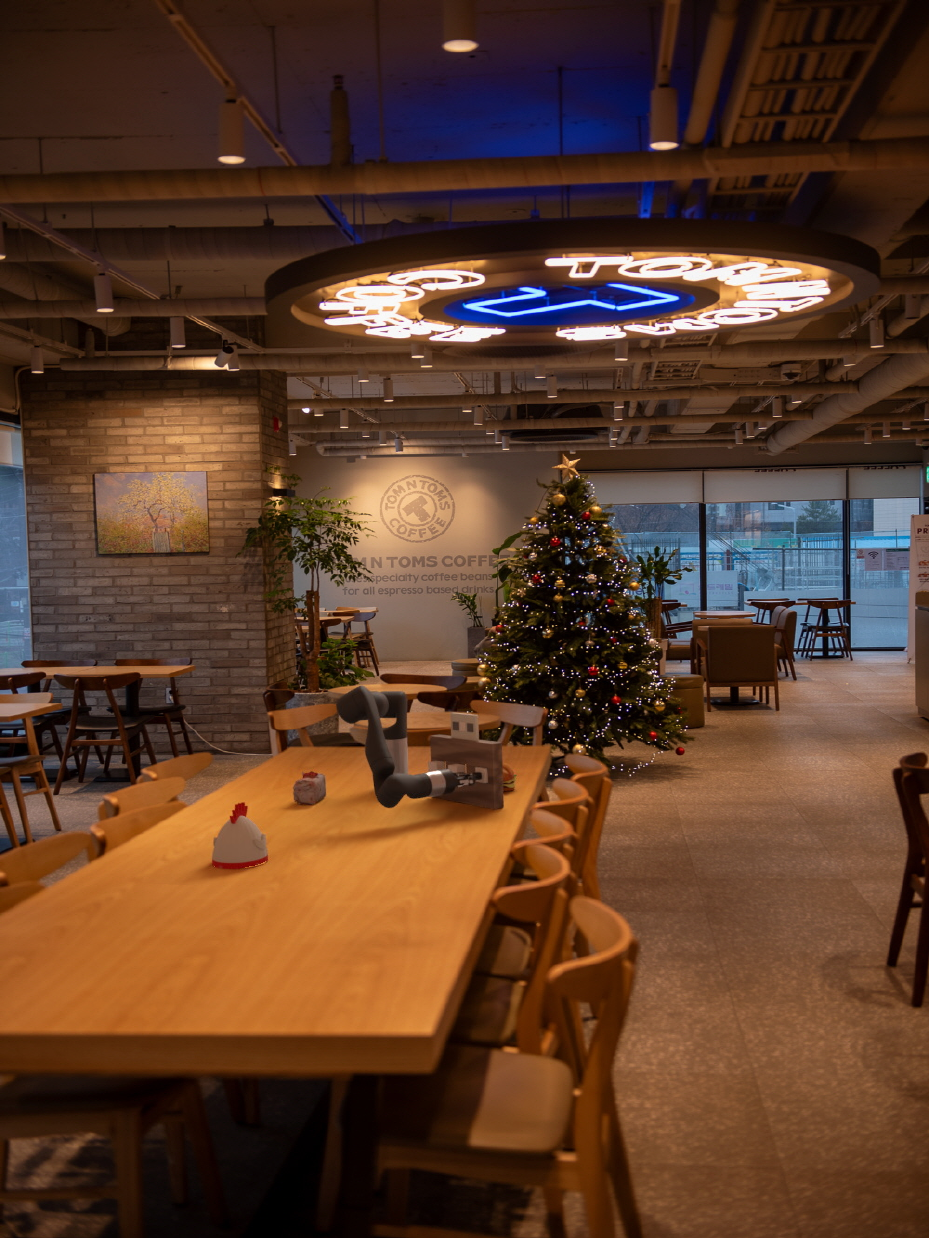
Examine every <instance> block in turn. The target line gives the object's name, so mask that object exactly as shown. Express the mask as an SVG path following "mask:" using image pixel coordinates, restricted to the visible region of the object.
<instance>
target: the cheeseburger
mask: <svg viewBox="0 0 929 1238" xmlns="http://www.w3.org/2000/svg"><path fill="white" fill-rule="evenodd" d="M516 777H517V774H515V773H514V770H513V768H512V767H511V765H510V764H508V763H506V762H503V792H510V791H513V790H514V789H515V787H516V781H517V778H516Z"/></svg>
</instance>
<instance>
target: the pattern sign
mask: <svg viewBox="0 0 929 1238" xmlns="http://www.w3.org/2000/svg"><path fill="white" fill-rule="evenodd" d="M479 723H480V721H479V714H471V713H463V712H462V713H460V712H450V736H451V738H457V739H465V740H473V741H479V740H480V733H479V732H480V728H479V727H480V726H479Z"/></svg>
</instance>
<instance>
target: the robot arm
mask: <svg viewBox="0 0 929 1238" xmlns="http://www.w3.org/2000/svg"><path fill="white" fill-rule="evenodd" d="M335 707H336V712H337V714H338V716H339V717H340V719H341V720H343V721H344V722H345V723H347V724H349V725H355V724H356V723H359V721H361V722H362V721H367V731H366V738H365V744H364V752H365V753H364V754H365V758H366V761H367V763H368V766H369V768H370V770H371V774H372V781H373V789H374V794H375V798H376V800H377V801H378V803H379V804H380V805H381V806H383V807H384V808H386V809H393V808H394V807H396V806H398V804H400V802H401V801H402V799H403V798H404V797H405V795H406V796H407V797H408V798H409V799H412V800H415V799H417V800H418V799H422V798H424V799H425V798H430V797H431V798H435V797H434V796H439V795H445V794H450V793H452V792H453V791H454V790H455V788H456V787H462V786H463V785H469V786H473V785H474V784H475V783H476V780H481V779H482V773H481V772H474V773H468V772H467V773H464V772H458V773H454V772H452V771H451V770H449V769H441V770H435V771H429V772H428V771H427V772H424V773H422V772H421V773H417V774H409V757H408V756H409V755H408V696H407V694H406V692H405V691H403V690H402V691H401V690H396V691H394V690H389V691H383V690H382V691H377V690H370V689H369V688H367V687H366V686H364V685H359V686H356V687H355V688H352V689H351V690H349V691H348V692H346V693H345V694H343V695H341V696H340V697H338V699H337V701H336V705H335ZM381 719H395V722H394V724H392V725H390V726H388V727H385V728H383V725H382V720H381Z"/></svg>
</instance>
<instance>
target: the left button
mask: <svg viewBox="0 0 929 1238" xmlns="http://www.w3.org/2000/svg"><path fill="white" fill-rule="evenodd" d="M445 768H446V761H445V762H443V761H431V760H430V761H427V770H428V771H427V772H429V771H435V770H441V769H445Z"/></svg>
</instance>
